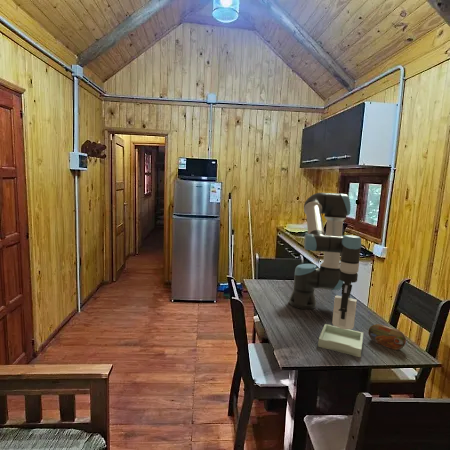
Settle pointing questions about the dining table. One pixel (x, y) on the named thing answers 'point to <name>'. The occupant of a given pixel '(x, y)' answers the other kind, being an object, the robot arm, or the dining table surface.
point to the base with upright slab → (350, 312)
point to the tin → (387, 336)
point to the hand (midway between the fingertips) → (343, 321)
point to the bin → (341, 340)
